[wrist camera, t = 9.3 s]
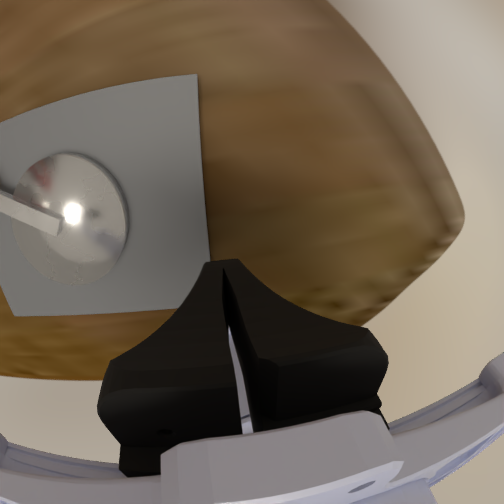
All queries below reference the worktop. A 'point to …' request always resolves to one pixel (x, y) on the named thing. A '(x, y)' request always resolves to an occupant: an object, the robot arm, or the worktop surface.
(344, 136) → the worktop surface
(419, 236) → the worktop surface
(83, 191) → the dial
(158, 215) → the dial plate
